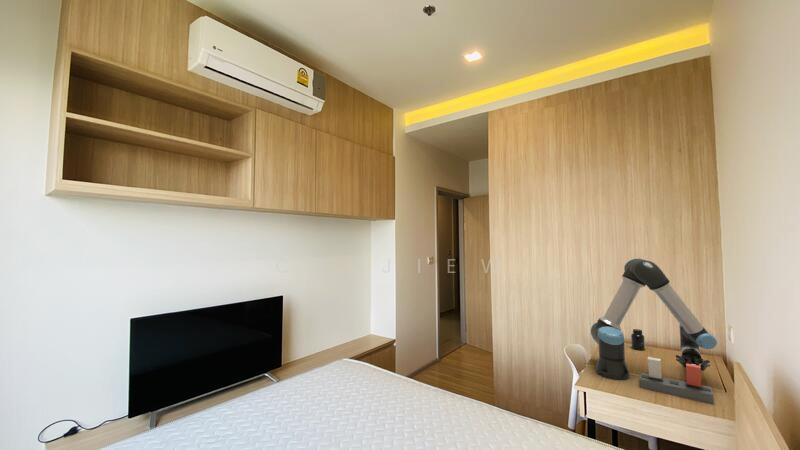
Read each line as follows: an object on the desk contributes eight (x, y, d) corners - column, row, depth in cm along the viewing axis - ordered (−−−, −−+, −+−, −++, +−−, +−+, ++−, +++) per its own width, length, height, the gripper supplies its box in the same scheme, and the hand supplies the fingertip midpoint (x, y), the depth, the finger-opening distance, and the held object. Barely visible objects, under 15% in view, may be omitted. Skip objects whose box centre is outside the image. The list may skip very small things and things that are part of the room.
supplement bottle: (645, 351, 203) (644, 332, 204) (632, 349, 207) (631, 330, 207) (644, 348, 209) (643, 329, 210) (631, 346, 213) (630, 327, 213)
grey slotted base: (639, 387, 159) (639, 378, 159) (641, 380, 165) (640, 371, 166) (713, 404, 142) (713, 393, 142) (711, 395, 149) (711, 385, 149)
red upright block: (686, 385, 150) (686, 365, 148) (686, 382, 152) (685, 363, 149) (701, 388, 147) (700, 368, 145) (701, 385, 148) (700, 365, 146)
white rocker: (648, 377, 159) (647, 358, 157) (648, 375, 160) (647, 356, 158) (661, 379, 156) (660, 361, 154) (661, 377, 157) (660, 359, 155)
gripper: (709, 366, 163) (715, 384, 145) (675, 360, 171) (676, 376, 153) (708, 350, 163) (714, 367, 145) (674, 345, 171) (675, 360, 153)
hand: (694, 371), depth 149 cm, fingers closed
